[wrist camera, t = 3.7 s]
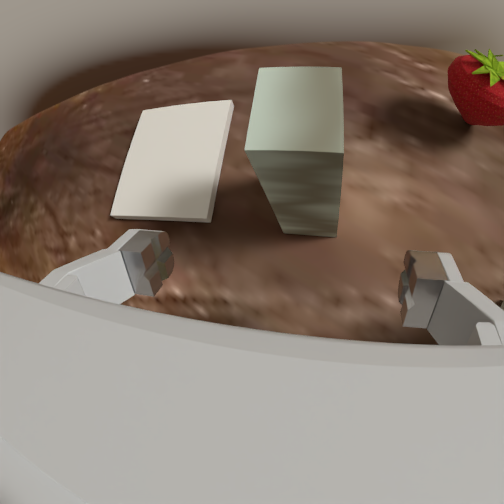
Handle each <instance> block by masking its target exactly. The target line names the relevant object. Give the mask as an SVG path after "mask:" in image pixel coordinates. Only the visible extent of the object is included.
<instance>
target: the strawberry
mask: <svg viewBox="0 0 504 504" xmlns="http://www.w3.org/2000/svg"><path fill="white" fill-rule="evenodd" d="M475 51H476V52H477V53H478V54H479V55H478V54H476V53H473V52H471V51H468V50H466V52H468V53H469V54H470V55H465V56H459V57H457V58H456V59H455V60H454V61H453V62H452V64H451V65H450V66H449V68H448V88H449V91H450V94H451V96H452V98H453V100H454V103H455V105H456V107H457V109H458V110H459V112H460V113H461V115H462V118H463V119H464V121H465V122H466V123H468V124H470V125H483V126H497V125H504V62H498V61H497V59H496V58H495V57H496V56H503V55H495V56H494V55H493V53H492V52H491V50H490V49H489V51H488V58H487V57H486V56H485V55H483V54H482V53H480V52H479V51H477V50H476V49H475Z"/></svg>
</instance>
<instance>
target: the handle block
mask: <svg viewBox="0 0 504 504" xmlns="http://www.w3.org/2000/svg"><path fill="white" fill-rule="evenodd" d="M245 152H246V154H247V156H248V158H249V161H250V163H251V165H252V167H253V169H254V171H255V173H256V175H257V177H258V179H259V181H260V183H261V186H262V188H263V190H264V192H265V194H266V196H267V198H268V200H269V203H270V205H271V207H272V209H273V211H274V213H275V215H276V218H277V220H278V222H279V224H280V226H281V228H282V231H283V233H286V234H300V235H313V236H326V237H336V236H337V227H338V217H339V207H340V196H341V184H342V171H343V156H344V121H343V88H342V68H338V67H271V68H259V72H258V78H257V83H256V88H255V94H254V99H253V105H252V110H251V116H250V121H249V127H248V133H247V139H246V144H245Z"/></svg>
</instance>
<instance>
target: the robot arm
mask: <svg viewBox="0 0 504 504" xmlns="http://www.w3.org/2000/svg"><path fill="white" fill-rule="evenodd" d="M169 244H170V240H169V236H168V234H167V233H166V232H165V231H154V230H142V229H129V230H128V231H127V232H126V233H125V234H123V235H122V236H121V237H120V238H119V239H118V240H117V241H115V242H114V243H113V244H112V245H111V246H110V247H109V248H108V249H103V250H100V251H98V252H95V253H93V254H90V255H88V256H86V257H83V258H81V259H78V260H76V261H73V262H71V263H69V264H66V265H64V266H62V267H59V268H57V269H55V270H53V271H52V272H51V273H50V274H49V275H47V276H46V277H45V278H44V279H43V280H42V281H41V282H40V283H39V284H38V283H35V282H31V281H28V280H24V279H21V278H18V277H14V276H11V275H8V274H5V273H2V272H0V504H504V311H503V310H502V309H501V308H500V307H499V306H497V305H496V304H495V303H494V302H492V301H491V300H490V299H489V298H487V297H486V296H485V295H484V294H482V293H481V292H480V291H478V290H477V289H476V288H474V287H473V286H472V285H471V284H469V283H468V282H464V281H463V279H462V277H461V274H460V272H459V270H458V268H457V266H456V264H455V261H454V259H453V257H452V255H451V254H450V253H441V252H427V251H412V250H408V251H407V252H406V254H405V258H404V266H405V270H404V271H403V272H402V273H401V275H400V280H399V287H398V298H399V302H400V303H401V304H402V308H401V311H400V312H401V319H402V326H405V327H417V328H427V330H428V331H429V333H430V334H431V335H432V337H433V338H434V339H435V340H436V342H437V343H438V344H439V345H424V344H402V343H384V342H370V341H357V340H345V339H334V338H324V337H314V336H305V335H296V334H288V333H280V332H272V331H265V330H258V329H251V328H244V327H237V326H231V325H224V324H218V323H212V322H206V321H201V320H195V319H189V318H184V317H178V316H173V315H168V314H163V313H158V312H153V311H148V310H143V309H139V308H134V307H129V306H125V305H120V304H121V303H122V302H124V301H126V300H127V299H129V298H130V297H132V296H133V295H135V294H140V295H147V296H155V295H156V293H157V292H158V291H159V289H160V288H161V287H162V285H163V284H162V281H163V280H165V279H167V278H169V276H170V275H171V273H172V271H173V267H174V257H173V253H172V252H171V251H170V249H169V248H168V246H169Z"/></svg>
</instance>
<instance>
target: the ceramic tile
mask: <svg viewBox="0 0 504 504" xmlns="http://www.w3.org/2000/svg"><path fill="white" fill-rule="evenodd" d="M233 109H234V105H233V103H232V101H231V100H224V101H212V102H202V103H193V104H184V105H176V106H169V107H162V108H156V109H150V110H144V111H143V112H142V114H141V117H140V120H139V123H138V125H137V128H136V131H135V134H134V137H133V140H132V143H131V146H130V149H129V152H128V155H127V158H126V161H125V164H124V167H123V171H122V174H121V177H120V181H119V184H118V188H117V192H116V195H115V199H114V203H113V206H112V210H111V214H110V216H112V217H114V218H116V219H139V220H165V221H188V222H208V223H211V220H212V215H213V209H214V203H215V198H216V193H217V187H218V182H219V177H220V172H221V166H222V161H223V156H224V151H225V146H226V142H227V137H228V132H229V127H230V122H231V118H232V113H233Z"/></svg>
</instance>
